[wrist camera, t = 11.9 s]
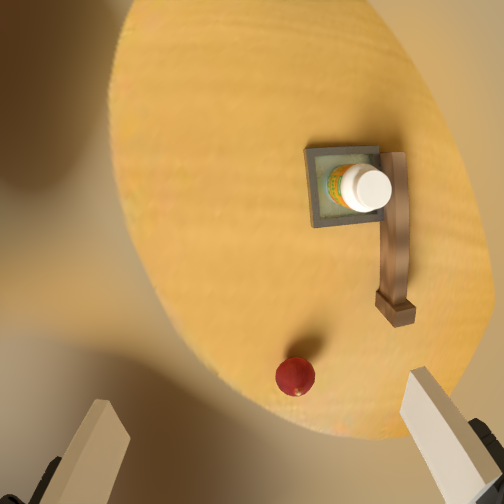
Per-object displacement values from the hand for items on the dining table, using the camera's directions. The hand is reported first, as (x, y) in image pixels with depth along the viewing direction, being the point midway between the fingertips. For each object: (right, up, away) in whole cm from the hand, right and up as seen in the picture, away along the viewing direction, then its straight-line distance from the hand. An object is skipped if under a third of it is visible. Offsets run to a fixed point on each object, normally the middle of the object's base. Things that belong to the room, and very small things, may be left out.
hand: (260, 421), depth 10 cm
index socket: (+12, +16, +26) cm, 32 cm away
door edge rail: (+19, +10, +27) cm, 34 cm away
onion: (+6, -10, +33) cm, 35 cm away
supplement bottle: (+12, +16, +26) cm, 32 cm away
